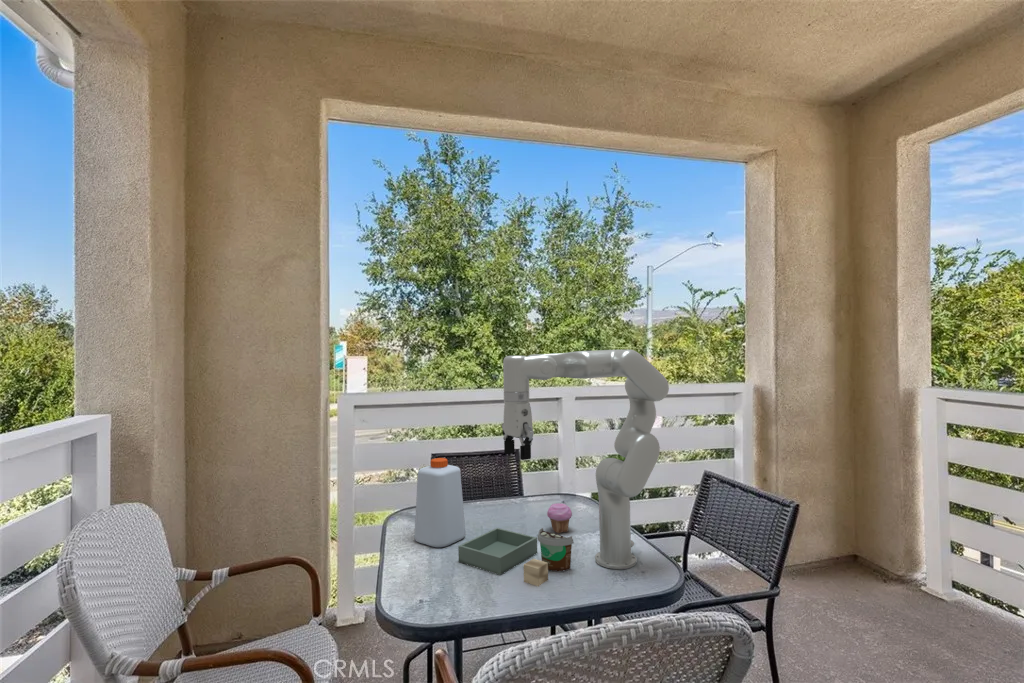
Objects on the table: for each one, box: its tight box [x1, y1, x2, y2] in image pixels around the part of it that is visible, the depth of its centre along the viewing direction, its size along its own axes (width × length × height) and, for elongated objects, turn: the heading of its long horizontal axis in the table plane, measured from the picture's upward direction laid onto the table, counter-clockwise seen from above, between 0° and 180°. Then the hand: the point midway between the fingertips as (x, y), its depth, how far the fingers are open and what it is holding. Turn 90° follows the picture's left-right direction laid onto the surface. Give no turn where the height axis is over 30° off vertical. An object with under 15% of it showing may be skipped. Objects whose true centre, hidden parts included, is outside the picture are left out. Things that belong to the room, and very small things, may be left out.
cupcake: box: [546, 503, 573, 534], centre depth 184 cm, size 9×9×10 cm
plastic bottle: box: [413, 457, 466, 548], centre depth 179 cm, size 15×15×28 cm
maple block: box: [523, 558, 549, 587], centre depth 145 cm, size 5×5×5 cm
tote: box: [458, 527, 538, 576], centre depth 162 cm, size 20×17×5 cm
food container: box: [537, 527, 575, 572], centre depth 153 cm, size 12×6×10 cm, turn 47°
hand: (517, 456), depth 148 cm, fingers open, 9 cm apart
